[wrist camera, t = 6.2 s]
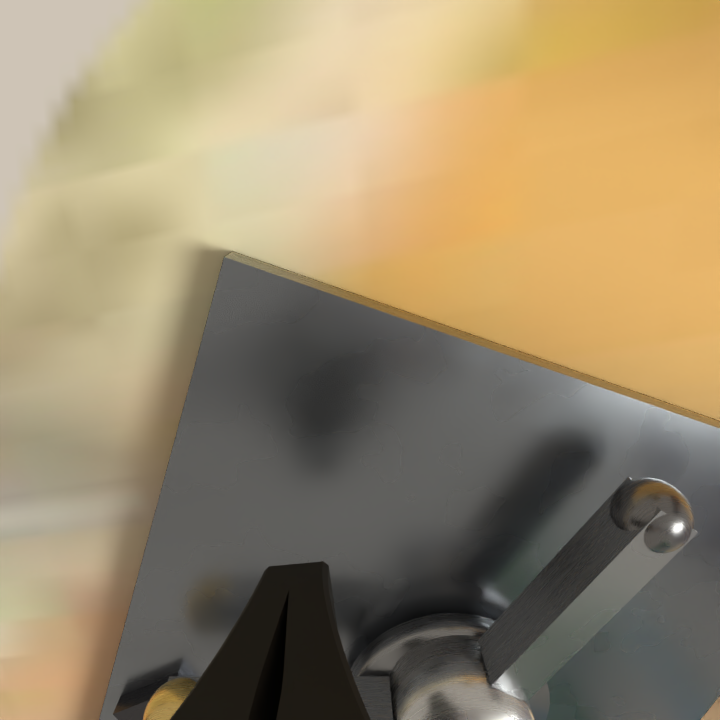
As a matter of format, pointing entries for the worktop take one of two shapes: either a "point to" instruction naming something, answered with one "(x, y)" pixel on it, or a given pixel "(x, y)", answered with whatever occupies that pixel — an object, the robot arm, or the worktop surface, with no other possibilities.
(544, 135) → the worktop surface
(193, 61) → the worktop surface
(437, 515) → the plate
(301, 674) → the robot arm
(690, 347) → the worktop surface
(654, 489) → the capstan
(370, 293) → the worktop surface
